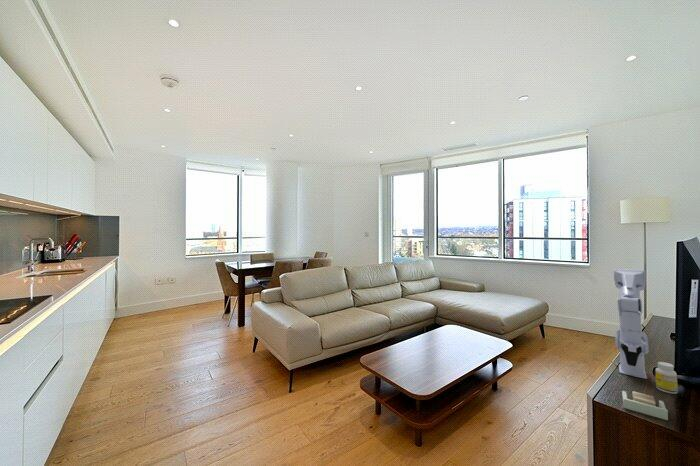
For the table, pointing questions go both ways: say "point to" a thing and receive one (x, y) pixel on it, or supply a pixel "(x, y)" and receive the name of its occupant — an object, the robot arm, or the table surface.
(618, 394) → the table surface
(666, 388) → the supplement bottle
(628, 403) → the dock
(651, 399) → the birch block
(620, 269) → the robot arm
